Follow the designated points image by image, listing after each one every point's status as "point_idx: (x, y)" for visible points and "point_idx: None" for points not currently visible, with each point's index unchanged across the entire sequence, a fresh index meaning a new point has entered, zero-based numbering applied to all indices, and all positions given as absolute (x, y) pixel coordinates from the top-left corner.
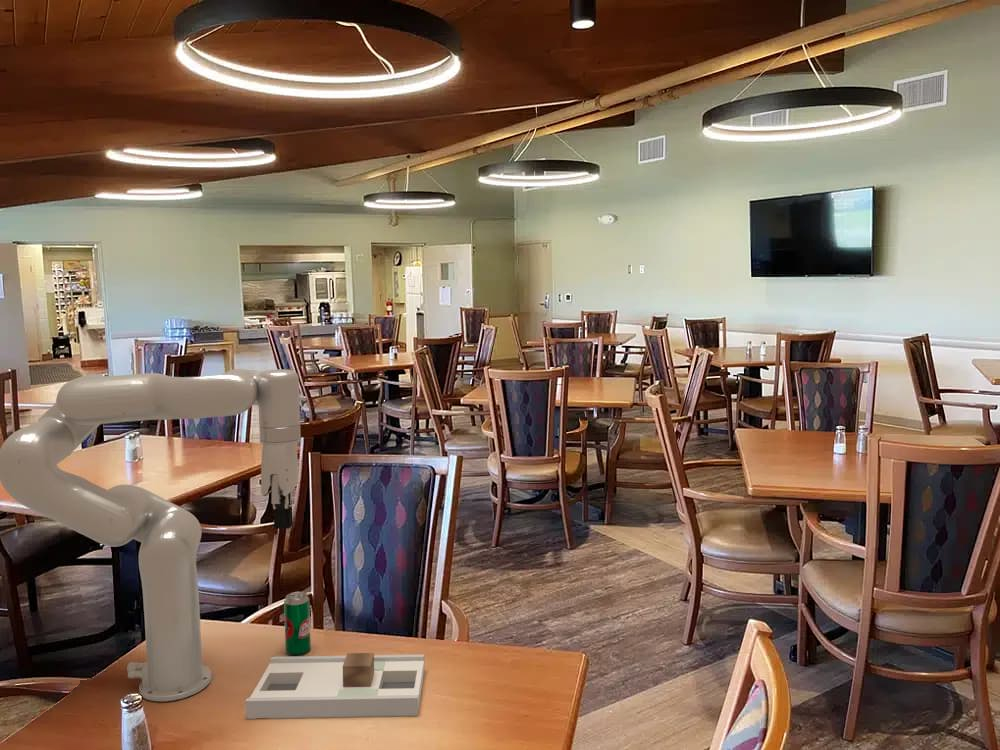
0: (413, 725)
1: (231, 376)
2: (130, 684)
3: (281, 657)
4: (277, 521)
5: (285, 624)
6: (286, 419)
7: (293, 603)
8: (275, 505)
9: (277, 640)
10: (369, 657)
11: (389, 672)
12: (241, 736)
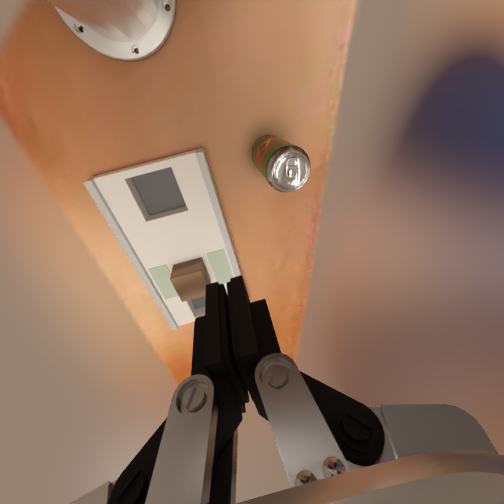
0: (160, 319)
1: None
2: None
3: (205, 168)
4: (196, 328)
5: (264, 147)
6: None
7: (269, 175)
8: (153, 439)
9: (295, 100)
10: (199, 294)
11: None
12: (61, 191)
